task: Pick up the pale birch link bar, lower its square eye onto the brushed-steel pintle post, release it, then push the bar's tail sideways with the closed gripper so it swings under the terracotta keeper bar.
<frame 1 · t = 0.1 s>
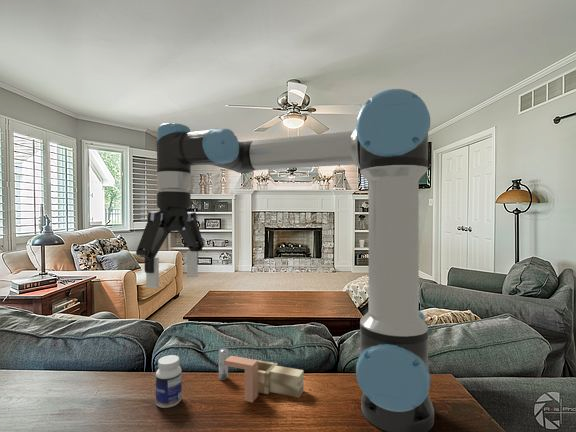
hand: (174, 281, 76), 28 cm above the table, fingers open, 13 cm apart
keeper: (251, 398, 77), on the table
link: (301, 394, 79), on the table
pintle: (223, 378, 87), on the table
pill bottle: (168, 402, 76), on the table
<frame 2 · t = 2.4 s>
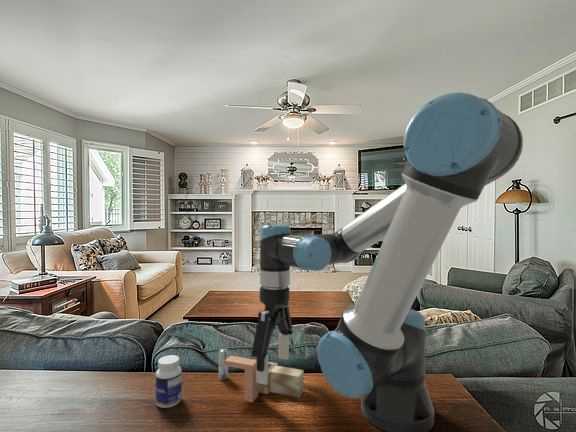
hand: (273, 370, 82), 4 cm above the table, fingers open, 13 cm apart
nothing on the table moved.
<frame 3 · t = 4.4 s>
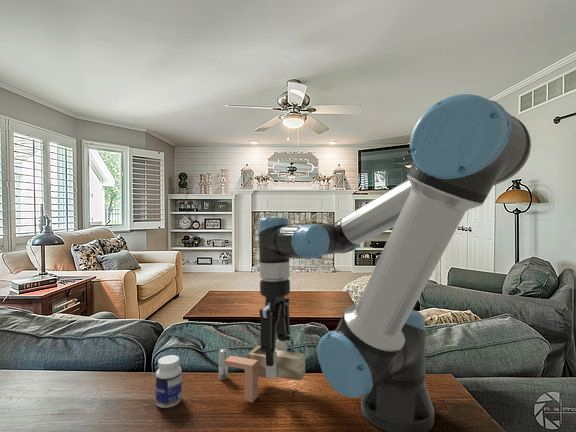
hand: (277, 371, 81), 5 cm above the table, fingers closed on link, 6 cm apart
link: (302, 377, 78), point 4 cm above the table, touching gripper
everything else where it was.
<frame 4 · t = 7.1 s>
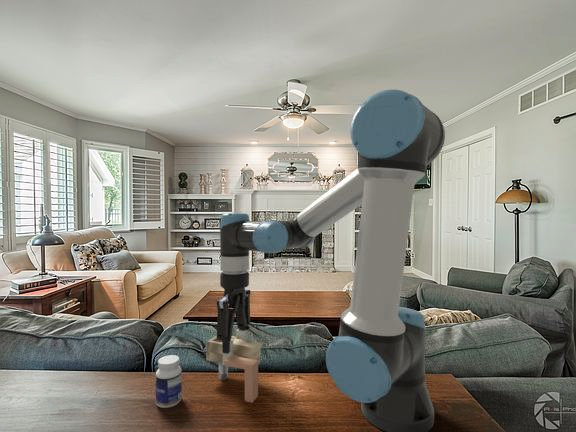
hand: (234, 358, 85), 6 cm above the table, fingers closed on link, 6 cm apart
link: (257, 364, 83), point 5 cm above the table, touching gripper
everything else where it was.
when the fingers open (0 cm above the table, at t = 9.9 s): link stays where it is, on the table.
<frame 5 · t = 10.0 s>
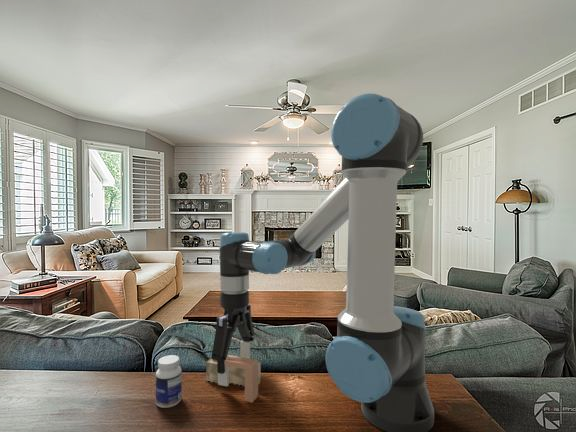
hand: (234, 374, 85), 2 cm above the table, fingers open, 11 cm apart
link: (257, 385, 83), on the table
everything else where it was.
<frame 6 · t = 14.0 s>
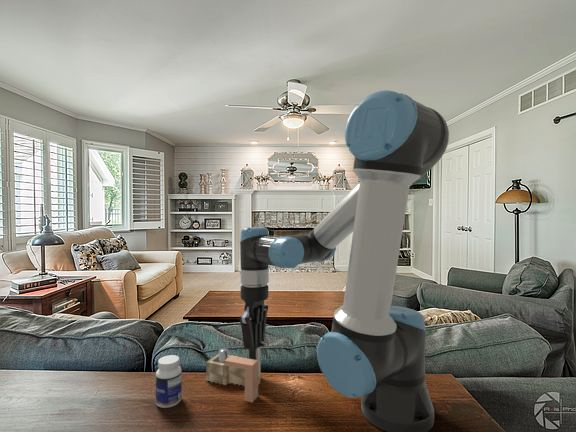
hand: (254, 371, 87), 1 cm above the table, fingers closed
link: (257, 385, 83), on the table, touching gripper
everything else where it was.
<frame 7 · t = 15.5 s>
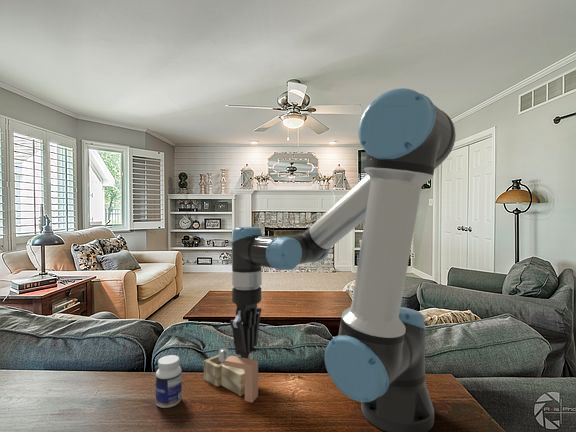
hand: (246, 377, 84), 2 cm above the table, fingers closed
link: (246, 392, 79), on the table, touching gripper
everything else where it was.
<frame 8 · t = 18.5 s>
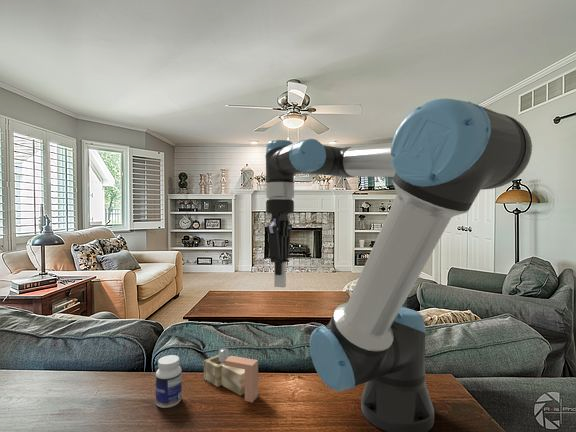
hand: (280, 286, 87), 24 cm above the table, fingers closed
link: (246, 392, 79), on the table
everything else where it was.
at the end: link 2.2 cm from the target spot, on the table; link 10.0 cm from the pintle (horizontally); link tilted 0° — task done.
